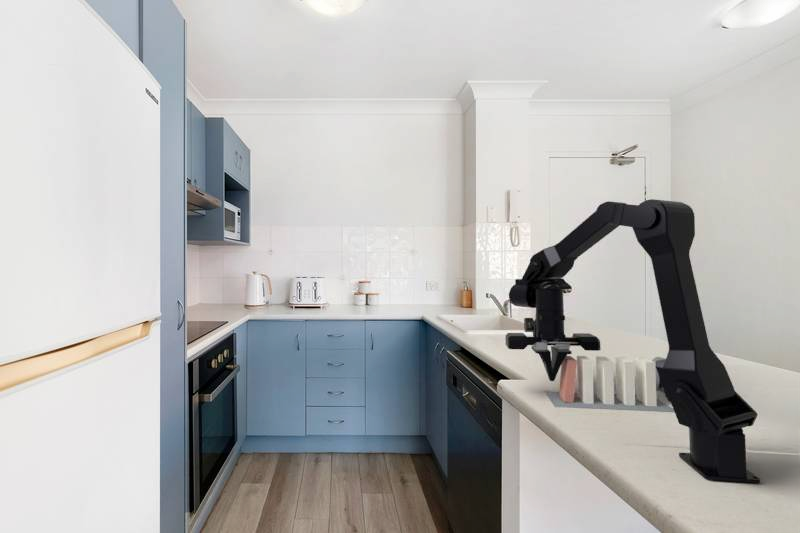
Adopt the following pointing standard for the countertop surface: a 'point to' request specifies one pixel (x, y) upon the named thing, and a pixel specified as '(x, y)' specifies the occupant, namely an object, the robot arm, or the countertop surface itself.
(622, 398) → the domino
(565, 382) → the domino
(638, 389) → the domino
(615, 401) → the slate mat
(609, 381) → the domino
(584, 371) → the domino
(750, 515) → the countertop surface
